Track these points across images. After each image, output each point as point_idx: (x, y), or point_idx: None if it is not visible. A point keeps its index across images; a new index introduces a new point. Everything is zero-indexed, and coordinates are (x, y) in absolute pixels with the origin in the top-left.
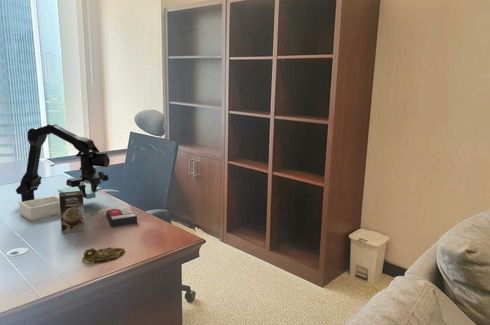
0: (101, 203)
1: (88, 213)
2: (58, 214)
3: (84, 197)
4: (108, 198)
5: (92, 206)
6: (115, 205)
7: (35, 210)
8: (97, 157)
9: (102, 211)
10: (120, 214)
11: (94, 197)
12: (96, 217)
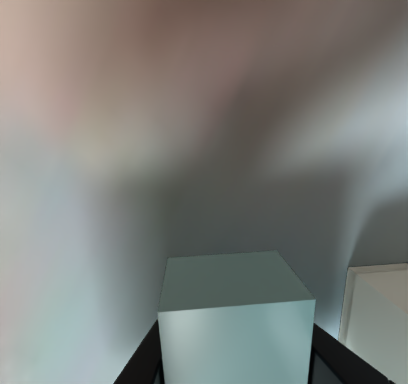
0: (91, 297)
1: (266, 156)
2: (402, 264)
3: None
4: (3, 363)
5: None
6: (14, 188)
7: None
8: None
9: (166, 123)
10: None
11: (185, 257)
12: (274, 14)
